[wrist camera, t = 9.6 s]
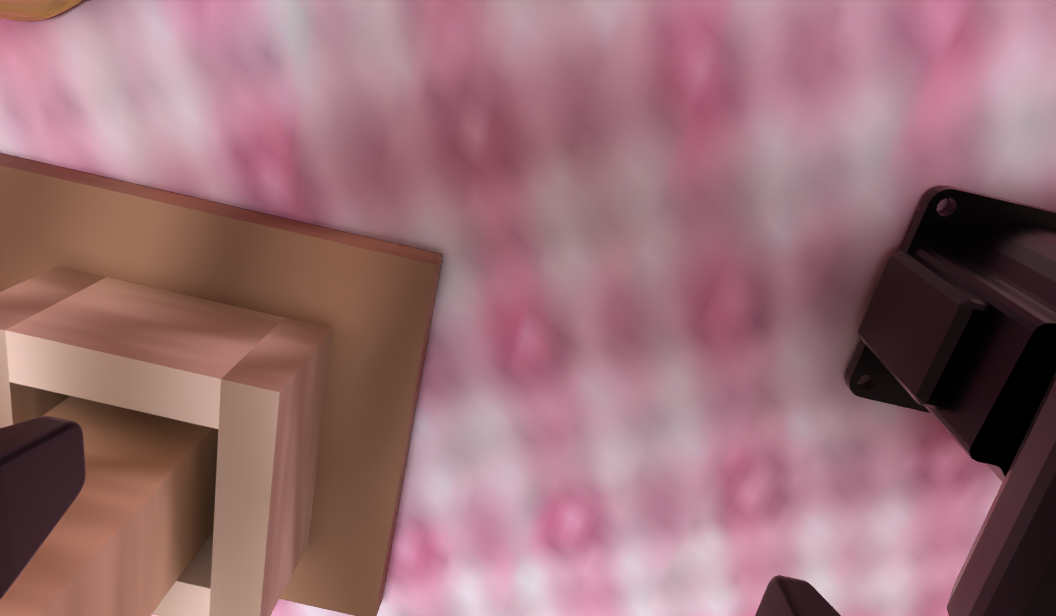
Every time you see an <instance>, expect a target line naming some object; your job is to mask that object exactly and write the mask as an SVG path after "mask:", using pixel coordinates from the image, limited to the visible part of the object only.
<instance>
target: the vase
mask: <svg viewBox="0 0 1056 616" xmlns="http://www.w3.org/2000/svg"><path fill="white" fill-rule="evenodd" d="M81 1H82V0H0V18H4V19H10V20H17V21H38V20H45V19H48V18H50V17H53V16H56V15H58V14H60V13H62V12H64V11H66V10H68V9H70V8H72V7H73V6H75V5H77V4H78V3H80V2H81Z"/></svg>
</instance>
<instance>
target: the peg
mask: <svg viewBox="0 0 1056 616" xmlns="http://www.w3.org/2000/svg"><path fill="white" fill-rule="evenodd" d="M43 416H53V417H57V418H62V419H67V420H71V421H75V422H77V423H78V424H79V425H80V426H81V428H82V430H83V438H84V453H85V469H86V476H85V482H84V485H83V487H82V489H81V491H80V493H79V495H78V496H77V498H76V499H75V500H74V502H73V503H72V504H71V506H70V507H69V509H68V510H67V511H66V513H65V514H64V515H63V517H62V518H61V519H60V521H59V522H58V523H57V525H56V526H55V528H54V529H53V530H52V532H51V533H50V534H49V536H48V537H47V538H46V540H45V541H44V543H43V544H42V545H41V547H40V548H39V549H38V551H37V552H36V553H35V555H34V556H33V557H32V559H31V560H30V562H29V563H28V564H27V566H26V567H25V568H24V570H23V571H22V572H21V574H20V575H19V577H18V578H17V579H16V581H15V582H14V583H13V584H12V586H11V587H10V588H9V589H8V591H7V592H6V593H5V595H4V596H3V597H2V598H1V599H0V616H151V615H152V613H153V612H154V610H155V609H156V608H157V606H158V605H159V604H160V602H161V601H162V600H163V598H164V597H165V596H166V594H167V593H168V592H169V590H170V589H171V587H172V586H173V585H174V583H175V582H176V581H177V579H178V578H179V577H180V575H181V574H182V573H183V571H184V570H185V569H186V567H187V566H188V565H189V563H190V562H191V560H192V559H193V558H194V556H195V555H196V554H197V552H198V551H199V550H200V548H201V547H202V546H203V544H204V543H205V542H206V540H207V539H208V537H209V536H210V535H211V533H212V532H213V530H214V510H215V490H216V469H217V449H218V429H215V428H211V427H207V426H202V425H198V424H193V423H189V422H184V421H180V420H176V419H171V418H167V417H162V416H158V415H153V414H149V413H145V412H140V411H136V410H131V409H127V408H122V407H118V406H114V405H109V404H105V403H100V402H96V401H92V400H87V399H83V398H78V397H74V396H70V397H68V398H67V399H66V400H64V401H63V402H61V403H60V404H59V405H57V406H56V407H54V408H53V409H52V410H50V411H49V412H47V413H46V414H45V415H43Z"/></svg>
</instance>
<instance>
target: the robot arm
mask: <svg viewBox="0 0 1056 616" xmlns="http://www.w3.org/2000/svg"><path fill="white" fill-rule="evenodd" d="M945 198H949V201H950V202H949V206H948V208H947V209H946V210H945V211H943V212H941V213H938V212H937V205H938V203H939V202H940V201H941V200H943V199H945ZM858 333H859V335H860V337H861V339H860V342H859V344H858V346H857V348H856V351H855V353H854V355H853V357H852V360H851V362H850V364H849V367H848V369H847V371H846V374H845V382H846V385H847V386H848V387H849V389H850V390H851V391H852V392H853V394H854V395H857V396H859V397H862V398H867V399H871V400H876V401H880V402H884V403H889V404H893V405H897V406H902V407H906V408H911V409H915V410H919V411H924V412H928V413H931V414H932V415H933V416H934V417H935V418H936V419H937V420H938V421H939V423H940V424H941V425H942V426H943V427H944V428H945V429H946V430H947V431H948V433H949V434H950V435H951V436H952V437H953V438H954V439H955V440H956V442H957V443H958V444H959V445H960V446H961V447H962V448H963V449H964V450H965V452H966V453H967V454H968V455H969V456H970V457H971V458H972V459H974V460H976V461H978V462H982V463H986V464H987V465H988V466H989V468H990V469H991V470H992V471H993V472H994V473H995V474H996V475H997V476H998V477H999V478H1000V480H1001V481H1002V482H1003V483H1002V485H1001V487H1000V489H999V491H998V494H997V496H996V498H995V500H994V502H993V504H992V506H991V508H990V510H989V512H988V514H987V517H986V519H985V521H984V523H983V525H982V527H981V529H980V531H979V533H978V535H977V538H976V540H975V542H974V544H973V546H972V548H971V550H970V552H969V554H968V556H967V559H966V561H965V563H964V565H963V567H962V569H961V571H960V573H959V575H958V577H957V580H956V582H955V584H954V587H953V590H952V593H951V596H950V599H949V602H948V605H947V610H948V614H949V616H1056V211H1053V210H1049V209H1044V208H1040V207H1036V206H1031V205H1027V204H1023V203H1018V202H1014V201H1010V200H1005V199H1001V198H997V197H992V196H988V195H984V194H979V193H975V192H971V191H967V190H962V189H958V188H954V187H949V186H938V187H935V188H933V189H931V190H930V191H929V192H927V193H926V195H925V196H924V198H923V199H922V201H921V203H920V205H919V208H918V210H917V212H916V215H915V217H914V219H913V221H912V224H911V226H910V228H909V230H908V233H907V235H906V237H905V239H904V242H903V244H902V246H901V249H900V251H898V252H897V253H895V254H894V255H892V256H891V257H890V259H889V261H888V264H887V266H886V268H885V270H884V273H883V275H882V277H881V280H880V282H879V284H878V286H877V289H876V291H875V293H874V296H873V298H872V300H871V302H870V305H869V307H868V309H867V312H866V314H865V316H864V318H863V321H862V323H861V325H860V328H859V330H858ZM865 375H870V379H869V380H868V381H867V382H866V383H864V384H858V380H859V379H860V378H861V377H863V376H865ZM85 476H86V469H85V453H84V438H83V430H82V428H81V426H80V425H79V424H78V423H77V422H75V421H71V420H67V419H62V418H57V417H53V416H42V417H38V418H34V419H31V420H27V421H24V422H20V423H17V424H13V425H10V426H6V427H3V428H0V599H1V598H2V597H3V596H4V595H5V593H6V592H7V591H8V589H9V588H10V587H11V586H12V584H13V583H14V582H15V581H16V579H17V578H18V577H19V575H20V574H21V572H22V571H23V570H24V568H25V567H26V566H27V564H28V563H29V562H30V560H31V559H32V557H33V556H34V555H35V553H36V552H37V551H38V549H39V548H40V547H41V545H42V544H43V543H44V541H45V540H46V538H47V537H48V536H49V534H50V533H51V532H52V530H53V529H54V528H55V526H56V525H57V523H58V522H59V521H60V519H61V518H62V517H63V515H64V514H65V513H66V511H67V510H68V509H69V507H70V506H71V504H72V503H73V502H74V500H75V499H76V498H77V496H78V495H79V493H80V491H81V489H82V487H83V485H84V482H85ZM755 616H841V615H840V614H839V613H838V612H837V611H836V610H835V609H834V608H833V607H832V606H831V605H830V604H829V603H828V602H827V601H826V600H825V599H824V598H823V597H822V596H821V595H820V594H819V593H818V592H817V590H816V589H815V588H814V587H813V586H812V585H810V584H809V583H808V582H806V581H803V580H799V579H795V578H790V577H785V576H781V575H778V576H775V577H773V578H772V579H771V581H770V582H769V584H768V586H767V589H766V591H765V593H764V596H763V598H762V600H761V603H760V605H759V608H758V610H757V612H756V615H755Z"/></svg>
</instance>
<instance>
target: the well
mask: <svg viewBox="0 0 1056 616" xmlns="http://www.w3.org/2000/svg"><path fill="white" fill-rule="evenodd" d="M442 256H443V255H442V254H438V253H434V252H429V251H425V250H421V249H416V248H412V247H408V246H403V245H399V244H394V243H390V242H386V241H381V240H377V239H373V238H368V237H364V236H360V235H355V234H351V233H346V232H342V231H338V230H333V229H329V228H325V227H320V226H316V225H311V224H307V223H303V222H298V221H294V220H290V219H285V218H281V217H277V216H272V215H268V214H263V213H259V212H255V211H250V210H246V209H242V208H237V207H233V206H228V205H224V204H220V203H215V202H211V201H207V200H202V199H198V198H194V197H189V196H185V195H180V194H176V193H172V192H167V191H163V190H159V189H154V188H150V187H146V186H141V185H137V184H132V183H128V182H124V181H119V180H115V179H111V178H106V177H102V176H97V175H93V174H89V173H84V172H80V171H76V170H71V169H67V168H63V167H58V166H54V165H49V164H45V163H41V162H36V161H32V160H28V159H23V158H19V157H14V156H10V155H6V154H1V153H0V428H3V427H6V426H10V425H13V424H17V423H20V422H24V421H27V420H31V419H34V418H38V417H42V416H43V415H45V414H46V413H47V412H49V411H50V410H52V409H53V408H54V407H56V406H57V405H59V404H60V403H61V402H63V401H64V400H66V399H67V398H68V397H70V396H74V397H78V398H83V399H87V400H92V401H96V402H100V403H105V404H109V405H114V406H118V407H122V408H127V409H131V410H136V411H140V412H145V413H149V414H153V415H158V416H162V417H167V418H171V419H176V420H180V421H184V422H189V423H193V424H198V425H202V426H207V427H211V428H215V429H218V449H217V469H216V490H215V510H214V530H213V532H212V533H211V535H210V536H209V537H208V539H207V540H206V542H205V543H204V544H203V546H202V547H201V548H200V550H199V551H198V552H197V554H196V555H195V556H194V558H193V559H192V560H191V562H190V563H189V565H188V566H187V567H186V569H185V570H184V571H183V573H182V574H181V575H180V577H179V578H178V579H177V581H176V582H175V583H174V585H173V586H172V587H171V589H170V590H169V592H168V593H167V594H166V596H165V597H164V598H163V600H162V601H161V602H160V604H159V605H158V606H157V608H156V609H155V610H154V612H153V613H152V614H154V615H159V616H270V615H271V613H272V611H273V609H274V608H275V606H276V604H277V602H278V600H279V599H283V600H288V601H292V602H297V603H301V604H305V605H310V606H314V607H319V608H323V609H328V610H332V611H337V612H341V613H346V614H350V615H355V616H377V613H378V610H379V607H380V604H381V602H382V598H383V592H384V587H385V581H386V575H387V570H388V564H389V558H390V553H391V547H392V541H393V535H394V530H395V524H396V518H397V513H398V507H399V501H400V496H401V490H402V484H403V478H404V473H405V467H406V461H407V456H408V450H409V444H410V438H411V433H412V427H413V421H414V416H415V410H416V404H417V399H418V393H419V387H420V381H421V376H422V370H423V364H424V359H425V353H426V347H427V341H428V336H429V330H430V324H431V319H432V313H433V307H434V302H435V296H436V290H437V284H438V279H439V273H440V267H441V262H442Z"/></svg>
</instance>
